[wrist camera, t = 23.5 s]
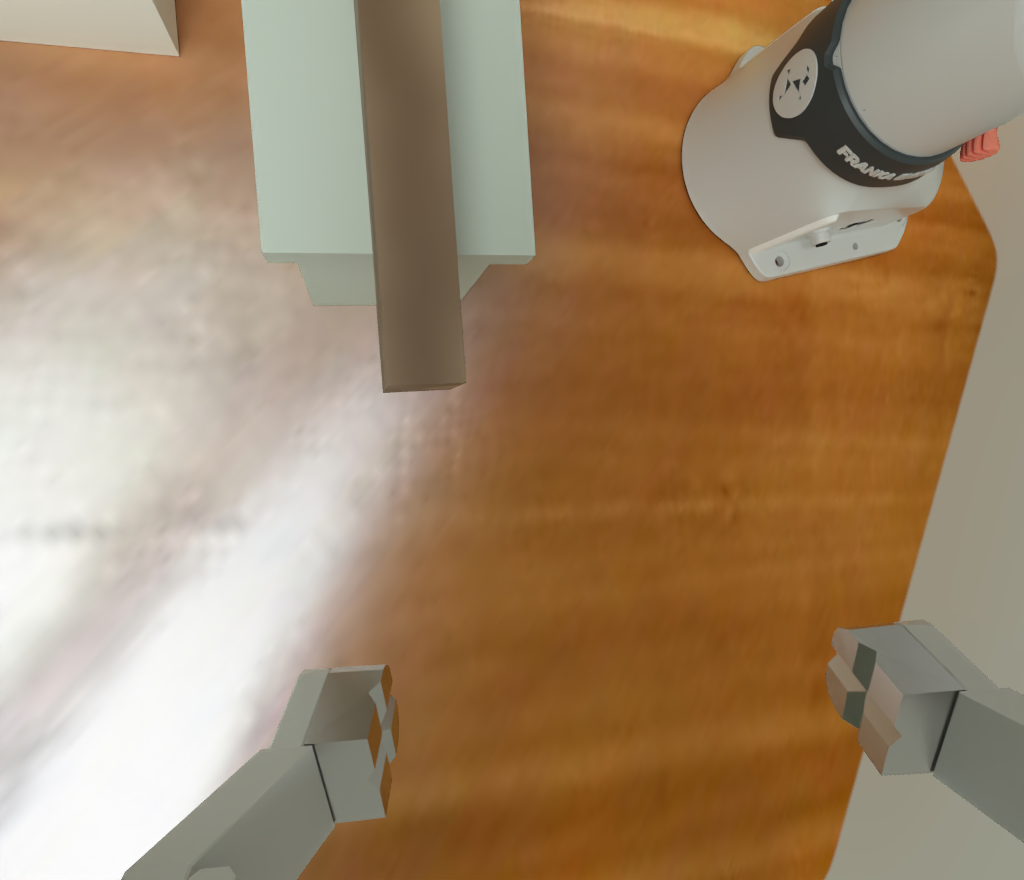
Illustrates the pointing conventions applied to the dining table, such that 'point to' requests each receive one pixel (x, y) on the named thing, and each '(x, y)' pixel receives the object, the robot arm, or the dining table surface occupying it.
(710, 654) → the dining table surface
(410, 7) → the walnut bar
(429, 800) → the dining table surface
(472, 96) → the pale green pedestal
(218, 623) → the dining table surface
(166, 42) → the tall stand
